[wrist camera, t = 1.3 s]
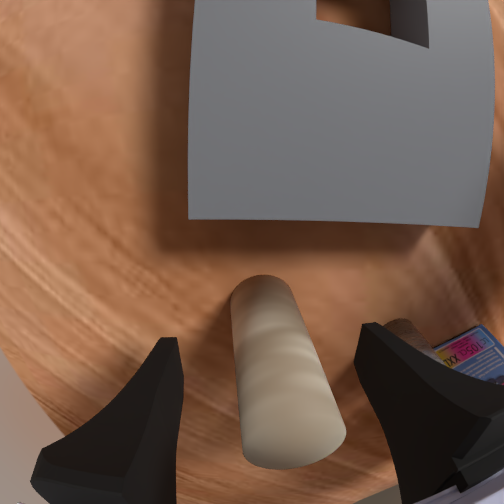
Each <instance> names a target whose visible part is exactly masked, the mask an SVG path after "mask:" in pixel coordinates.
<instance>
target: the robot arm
mask: <svg viewBox="0 0 504 504" xmlns="http://www.w3.org/2000/svg"><path fill="white" fill-rule="evenodd" d="M354 365H355V368H356V371H357V374H358V377H359V380H360V383H361V385H362V387H363V389H364V391H365V393H366V395H367V397H368V399H369V401H370V403H371V405H372V407H373V409H374V411H375V413H376V415H377V417H378V419H379V421H380V423H381V426H382V428H383V430H384V433H385V436H386V439H387V442H388V445H389V448H390V451H391V455H392V458H393V462H394V466H395V470H396V474H397V478H398V483H399V488H400V494H401V500H402V504H504V385H500V384H495V383H491V382H487V381H484V380H480V379H477V378H474V377H471V376H469V375H466V374H463V373H461V372H458V371H456V370H454V369H452V368H449V367H447V366H445V365H443V364H441V363H439V362H437V361H436V360H434V359H432V358H430V357H429V356H427V355H425V354H424V353H422V352H420V351H419V350H417V349H416V348H414V347H412V346H411V345H409V344H408V343H406V342H405V341H403V340H402V339H401V338H399V337H398V336H396V335H395V334H393V333H392V332H390V331H389V330H387V329H386V328H384V327H383V326H381V325H380V324H378V323H376V322H373V323H365V324H362V328H361V332H360V337H359V341H358V346H357V350H356V354H355V358H354ZM183 389H184V375H183V369H182V364H181V359H180V353H179V348H178V342H177V337H161V338H160V339H159V340H158V342H157V343H156V345H155V346H154V348H153V349H152V351H151V352H150V354H149V355H148V357H147V358H146V360H145V361H144V363H143V364H142V365H141V367H140V368H139V369H138V371H137V372H136V373H135V375H134V376H133V377H132V378H131V380H130V381H129V382H128V383H127V384H126V386H125V387H124V388H123V389H122V390H121V391H120V392H119V394H118V395H117V396H116V397H115V398H114V399H113V400H112V401H111V402H110V403H109V404H108V405H107V406H106V407H105V408H103V409H102V410H101V411H100V412H99V413H98V414H96V415H95V416H94V417H93V418H92V419H90V420H89V421H88V422H87V423H85V424H84V425H82V426H81V427H79V428H78V429H77V430H75V431H73V432H72V433H70V434H69V435H67V436H65V437H64V438H62V439H60V440H58V441H56V442H54V443H52V444H51V445H49V446H47V447H45V448H42V450H41V452H40V454H39V456H38V459H37V462H36V465H35V468H34V471H33V474H32V477H31V480H30V482H31V485H32V487H33V488H34V489H35V490H36V492H38V493H39V494H40V495H41V496H42V497H43V498H44V499H45V500H46V501H47V502H49V503H50V504H177V502H176V448H177V439H178V432H179V425H180V418H181V411H182V404H183ZM17 504H24V503H21V502H17Z"/></svg>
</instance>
